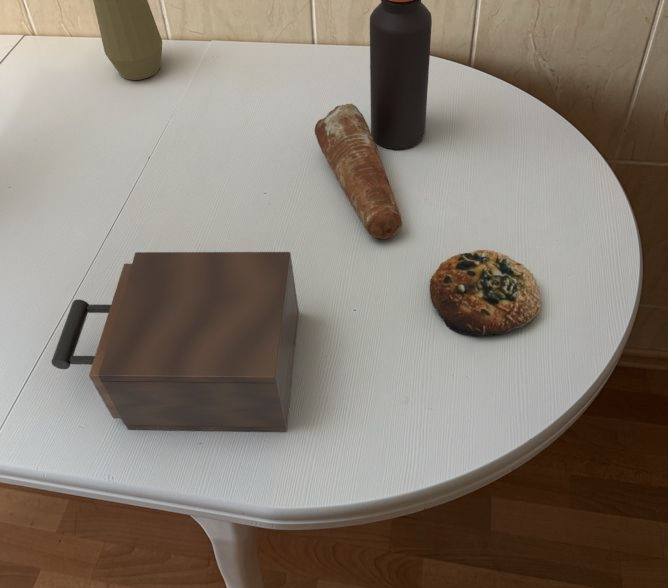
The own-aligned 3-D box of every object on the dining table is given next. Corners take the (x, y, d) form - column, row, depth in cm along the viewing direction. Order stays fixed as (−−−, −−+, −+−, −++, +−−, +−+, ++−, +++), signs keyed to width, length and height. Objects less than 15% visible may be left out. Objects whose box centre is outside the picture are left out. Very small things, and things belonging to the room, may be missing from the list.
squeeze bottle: (176, 56, 102) (143, -79, 88) (156, 88, 97) (117, -50, 83) (125, 52, 103) (84, -82, 89) (102, 83, 99) (55, -53, 84)
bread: (363, 137, 88) (362, 97, 84) (409, 240, 77) (411, 201, 72) (314, 146, 87) (311, 107, 83) (353, 251, 76) (352, 213, 72)
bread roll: (418, 328, 69) (424, 290, 65) (437, 260, 76) (443, 222, 73) (532, 353, 67) (545, 314, 63) (540, 280, 74) (552, 242, 71)
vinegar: (421, 153, 86) (431, -13, 70) (366, 148, 87) (363, -16, 71) (427, 119, 90) (438, -45, 74) (375, 115, 91) (374, -47, 75)
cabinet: (127, 429, 64) (97, 375, 57) (158, 311, 72) (135, 251, 66) (286, 432, 63) (275, 377, 56) (298, 311, 71) (290, 251, 65)
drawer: (59, 418, 64) (30, 375, 59) (95, 309, 72) (72, 263, 66) (260, 421, 63) (249, 377, 57) (274, 310, 70) (266, 263, 65)
